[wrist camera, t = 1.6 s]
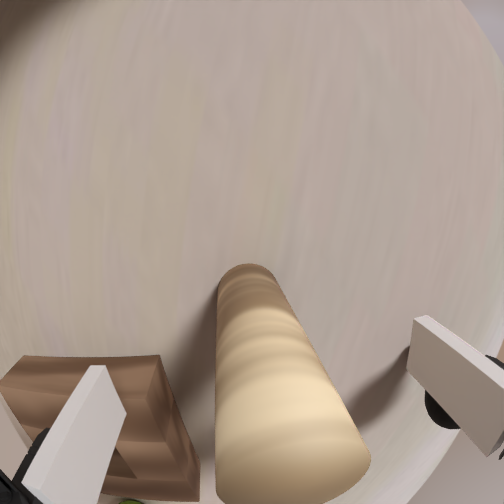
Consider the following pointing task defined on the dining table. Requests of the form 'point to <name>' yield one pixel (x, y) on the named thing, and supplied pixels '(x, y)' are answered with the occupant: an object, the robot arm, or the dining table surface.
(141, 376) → the socket block
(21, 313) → the dining table surface
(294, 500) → the dowel
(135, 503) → the snail figurine
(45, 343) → the dining table surface
